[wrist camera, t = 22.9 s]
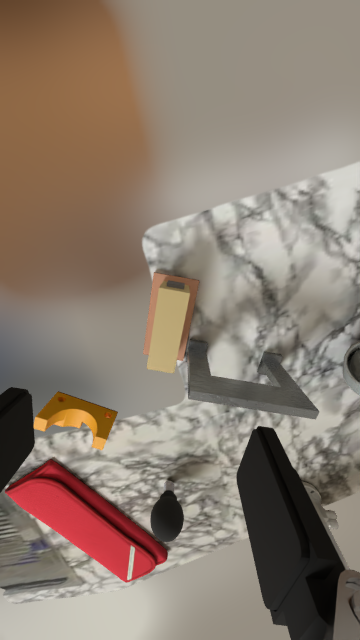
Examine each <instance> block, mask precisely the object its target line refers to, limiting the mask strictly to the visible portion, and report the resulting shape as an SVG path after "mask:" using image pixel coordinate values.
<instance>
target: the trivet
mask: <svg viewBox="0 0 360 640" xmlns="http://www.w3.org/2000/svg"><path fill="white" fill-rule="evenodd" d="M168 280H170V281H176V282H181V283H185V285H189V289H190V296H189V301H188V306H187V311H186V316H185V321H184V326H183V331H182V336H181V341H180V346H179V351H178V356H177V360H181V361H183V359H184V354H185V349H186V344H187V339H188V334H189V329H190V324H191V319H192V314H193V309H194V305H195V300H196V295H197V290H198V285H199V280H193V279H188V278H182V277H177V276H171V275H166V274H160V273H155V272H154V276H153V284H152V292H151V299H150V307H149V314H148V322H147V329H146V337H145V344H144V352H143V354H145V355H149V350H150V344H151V337H152V330H153V324H154V317H155V311H156V304H157V297H158V291H159V287H160V285H161V284H162V282H163V281H168Z"/></svg>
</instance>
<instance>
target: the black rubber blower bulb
mask: <svg viewBox="0 0 360 640" xmlns="http://www.w3.org/2000/svg"><path fill="white" fill-rule="evenodd" d="M183 521H184V515H183V510H182V507H181V505H180V504H179V502H178V501H177V497H176V495H175V494H174V483H173V482H172V481H166V482H165V485H164V493H163V494H162V495H161V496H160V499H159V500H158V501H157V502H156V504H155V505H154V507H153V509H152V512H151V528H152V531H153V533H154V535H155V536H156V537H157V538H158V539H159V540H161V541H163V542H170V541H172V540H174V539H175V538H176V537H177V536H178V535H179V533H180V532H181V529H182V526H183Z"/></svg>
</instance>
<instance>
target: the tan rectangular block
mask: <svg viewBox="0 0 360 640" xmlns="http://www.w3.org/2000/svg"><path fill="white" fill-rule="evenodd" d="M189 296H190V289H189V285H185V283H181V282H176V281H170V280H168V281H163V282H162V284H161V285H160V287H159V291H158V297H157V304H156V311H155V317H154V324H153V330H152V337H151V344H150V350H149V358H148V364H147V369H150V370H156V371H162V372H168V373H174V370H175V366H176V361H177V356H178V351H179V346H180V341H181V336H182V331H183V326H184V321H185V316H186V311H187V306H188V301H189Z"/></svg>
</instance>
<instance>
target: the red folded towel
mask: <svg viewBox="0 0 360 640" xmlns="http://www.w3.org/2000/svg"><path fill="white" fill-rule="evenodd" d="M5 493H6V494H7V495H8V496H9V497H11V498H12V499H13V500H14V501H15V502H16V503H17V504H18V505H19V506H20V507H22V508H23V509H24V510H26V511H27V512H29V513H30V514H32V515H33V516H35V517H36V518H38V519H39V520H40V521H42V522H43V523H45V524H46V525H48V526H49V527H51V528H52V529H54V530H55V531H56V532H58V533H59V534H61V535H62V536H63V537H65V538H66V539H67V540H69V541H70V542H71V543H73V544H74V545H75V546H77V547H78V548H80V549H81V550H82V551H84V552H85V553H87V554H88V555H89V556H91V557H92V558H94V559H95V560H96V561H98V562H99V563H101V564H102V565H103V566H104V567H106V568H107V569H108V570H110V571H111V572H112V573H114V574H115V575H116V576H118V577H119V578H120V579H121V580H123V581H124V582H130V581H132V580H135V579H137V578H140V577H142V576H144V575H146V574H148V573H150V572H151V571H152V570H154V568H155V566H156V565H159V564H161V563H164V562H165V561H166V560H167V557H168V552H167V550H166V549H165V548H164V547H163V546H161V545H160V544H159V543H158V542H157V541H155V540H154V539H153V538H152V537H151V536H150V535H148V534H147V533H146V532H145V531H144V530H142V529H141V528H140V527H139V526H137V525H136V524H135V523H134V522H133V521H131V520H130V519H129V518H127V517H126V516H125V515H123V514H122V513H121V512H120V511H118V510H117V509H116V508H115V507H114V506H112V505H111V504H110V503H109V502H107V501H106V500H105V499H104V498H102V497H101V496H100V495H99V494H97V493H96V492H95V491H93V490H92V489H91V488H89V487H88V486H87V485H85V484H84V483H83V482H82V481H80V480H79V479H78V478H76V477H75V476H74V475H72V474H71V473H70V472H68V471H67V470H66V469H64V468H63V467H62V466H60V465H59V464H58V463H56V462H55V461H53V460H52V459H50V460H49V461H48V462H46V463H45V464H44V465H42V466H41V467H39V468H38V469H36V470H35V471H33V472H31V473H30V474H28V475H26V476H25V477H23V478H22V479H20V480H19V481H17V482H15V483H13V484H12V485H10V486H9V487H8V488H7V489H6V490H5Z"/></svg>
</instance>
